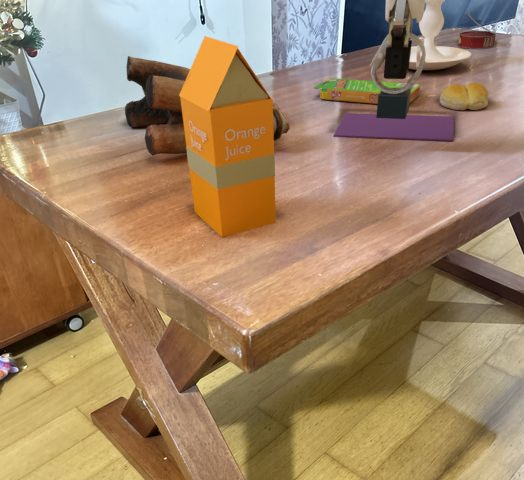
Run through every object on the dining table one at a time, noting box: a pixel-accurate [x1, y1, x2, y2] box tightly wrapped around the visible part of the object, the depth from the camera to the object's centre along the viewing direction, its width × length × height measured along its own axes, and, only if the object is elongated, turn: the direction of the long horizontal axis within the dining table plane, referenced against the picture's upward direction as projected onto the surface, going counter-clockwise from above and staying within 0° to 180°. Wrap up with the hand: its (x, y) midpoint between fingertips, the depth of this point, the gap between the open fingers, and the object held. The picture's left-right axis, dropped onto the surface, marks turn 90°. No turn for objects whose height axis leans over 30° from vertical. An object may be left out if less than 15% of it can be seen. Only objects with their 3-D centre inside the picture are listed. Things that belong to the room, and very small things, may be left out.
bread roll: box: [439, 82, 489, 111], centre depth 105 cm, size 8×9×4 cm
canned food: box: [457, 11, 497, 50], centre depth 153 cm, size 11×10×10 cm
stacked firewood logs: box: [124, 55, 290, 156], centre depth 95 cm, size 13×31×25 cm
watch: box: [369, 32, 426, 119], centre depth 81 cm, size 6×8×11 cm
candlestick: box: [408, 0, 472, 71], centre depth 125 cm, size 21×25×28 cm
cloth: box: [333, 112, 455, 142], centre depth 97 cm, size 20×14×1 cm
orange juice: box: [179, 35, 277, 238], centre depth 64 cm, size 8×9×20 cm
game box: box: [312, 78, 421, 105], centre depth 113 cm, size 3×10×20 cm
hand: (396, 72), depth 80 cm, fingers closed on watch, 4 cm apart
